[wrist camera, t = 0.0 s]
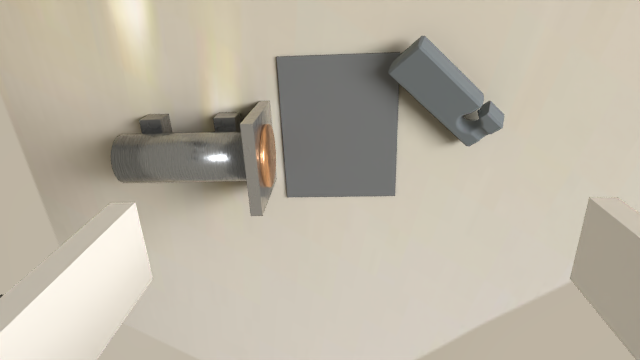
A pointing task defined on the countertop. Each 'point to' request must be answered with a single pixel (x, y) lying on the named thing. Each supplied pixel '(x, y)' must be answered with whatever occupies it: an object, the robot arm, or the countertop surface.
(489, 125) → the bracket
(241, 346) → the countertop surface
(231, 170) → the pipe fixture
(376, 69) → the mount pad
